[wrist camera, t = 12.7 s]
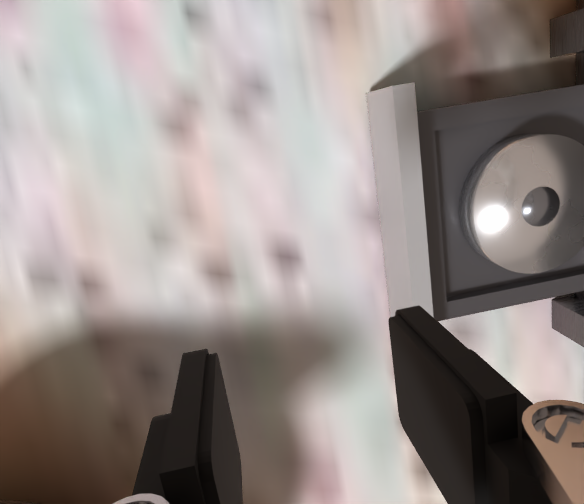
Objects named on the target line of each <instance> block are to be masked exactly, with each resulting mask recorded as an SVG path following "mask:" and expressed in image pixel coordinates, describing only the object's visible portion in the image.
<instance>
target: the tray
mask: <svg viewBox="0 0 584 504" xmlns="http://www.w3.org/2000/svg"><path fill="white" fill-rule="evenodd" d="M366 99H367V108H368V117H369V127H370V136H371V145H372V154H373V164H374V173H375V182H376V191H377V200H378V210H379V219H380V228H381V237H382V247H383V256H384V265H385V274H386V284H387V293H388V302H389V311H390V317H394V316H395V312H396V310H398V309H403V308H408V307H413V306H418V305H419V306H421V307H422V308H423V309H424V310H425V311H427V312H428V313H429V314H430V315H431V316H432V317H433V318H434V319H435V320H437V321H441V320H446V319H451V318H455V317H460V316H465V315H470V314H475V313H479V312H484V311H489V310H494V309H499V308H503V307H508V306H513V305H518V304H523V303H527V302H532V301H537V300H542V299H547V298H551V297H556V296H561V295H566V294H571V293H575V292H580V291H584V247H583V248H582V249H581V250H580V251H579V252H578V253H577V254H576V255H575V256H573V257H572V258H571V259H570V260H568V261H567V262H565V263H564V264H562V265H560V266H558V267H556V268H553V269H551V270H548V271H544V272H540V273H533V274H524V273H517V272H514V271H510V270H508V269H505V268H503V267H501V266H499V265H497V264H495V263H493V262H491V261H489V260H487V259H485V258H484V257H482V256H481V255H479V254H478V253H477V252H476V251H475V250H474V249H473V248H472V247H471V246H470V244H469V243H468V241H467V240H466V238H465V236H464V234H463V231H462V228H461V225H460V219H459V199H460V194H461V190H462V186H463V184H464V181H465V179H466V177H467V175H468V173H469V171H470V170H471V168H472V167H473V165H474V164H475V162H476V161H477V160H478V159H479V158H480V157H481V156H482V155H483V154H484V153H485V152H486V151H487V150H488V149H490V148H491V147H492V146H494V145H495V144H497V143H499V142H501V141H502V140H505V139H507V138H510V137H513V136H517V135H524V134H553V135H561V136H566V137H569V138H571V139H574V140H576V141H577V142H579V143H581V144H582V145H583V146H584V84H580V85H574V86H568V87H562V88H556V89H550V90H544V91H538V92H532V93H526V94H520V95H514V96H508V97H501V98H495V99H489V100H483V101H477V102H471V103H465V104H459V105H453V106H447V107H441V108H435V109H429V110H423V111H417V106H416V93H415V82H413V83H406V84H400V85H394V86H390V87H386V88H382V89H379V90H375V91H372V92H368V93H366Z"/></svg>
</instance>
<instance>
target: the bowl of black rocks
mask: <svg viewBox="0 0 584 504" xmlns="http://www.w3.org/2000/svg"><path fill="white" fill-rule="evenodd" d="M0 504H37V503H32V502H23V501H6V500H0Z"/></svg>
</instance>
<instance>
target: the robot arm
mask: <svg viewBox="0 0 584 504" xmlns="http://www.w3.org/2000/svg"><path fill="white" fill-rule="evenodd" d="M389 330H390V339H391V348H392V358H393V367H394V376H395V385H396V394H397V403H398V412H399V417H400V421H401V424H402V427H403V429H404V431H405V432H406V434H407V436H408V437H409V439H410V441H411V442H412V444H413V446H414V447H415V449H416V451H417V452H418V454H419V456H420V458H421V459H422V461H423V463H424V464H425V466H426V468H427V469H428V471H429V473H430V474H431V476H432V478H433V479H434V481H435V483H436V484H437V486H438V488H439V490H440V491H441V493H442V495H443V496H444V498H445V500H446V501H447V503H448V504H584V404H582V403H578V402H573V401H566V400H547V401H542V402H537V403H535V404H533V403H532V402H530V401H529V400H528V399H527V398H526V397H525V396H524V395H523V394H521V393H520V392H519V391H518V390H517V389H516V388H515V387H514V386H512V385H511V384H510V383H509V382H508V381H507V380H506V379H505V378H503V377H502V376H501V375H500V374H499V373H498V372H497V371H496V370H494V369H493V368H492V367H491V366H490V365H489V364H488V363H487V362H485V361H484V360H483V359H482V358H481V357H480V356H479V355H478V354H476V353H475V352H474V351H472V350H471V349H468V348H467V347H465V346H464V345H463V344H462V343H461V342H460V341H459V340H458V339H457V338H455V337H454V336H453V335H452V334H451V333H450V332H449V331H448V330H447V329H445V328H444V327H443V326H442V325H441V324H440V323H439V322H438V321H437V320H435V319H434V318H433V317H432V316H431V315H430V314H429V313H428V312H427V311H425V310H424V309H423V308H422V307H421V306H419V305H418V306H413V307H408V308H403V309H398V310H396V312H395V316H394V317H390V318H389ZM113 504H243V499H242V475H241V460H240V453H239V448H238V444H237V439H236V435H235V430H234V426H233V421H232V417H231V412H230V408H229V403H228V399H227V394H226V390H225V385H224V381H223V376H222V372H221V367H220V363H219V358H218V355H217V353H214V354H209V353H208V350H207V349H203V350H198V351H193V352H188V353H183V355H182V360H181V365H180V370H179V375H178V380H177V385H176V390H175V395H174V400H173V406H172V411H171V413H170V414H165V415H160V416H156V417H154V418H153V419H152V422H151V425H150V429H149V433H148V436H147V440H146V444H145V448H144V452H143V456H142V459H141V463H140V467H139V471H138V475H137V479H136V482H135V486H134V490H133V494H132V496H129V497H125V498H123V499H121V500H119V501H117V502H115V503H113Z"/></svg>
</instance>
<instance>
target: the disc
mask: <svg viewBox="0 0 584 504" xmlns="http://www.w3.org/2000/svg"><path fill="white" fill-rule="evenodd" d="M459 219H460V225H461V228H462V231H463V234H464V236H465V238H466V240H467V241H468V243H469V244H470V246H471V247H472V248H473V249H474V250H475V251H476V252H477V253H478V254H479V255H481V256H482V257H484V258H485V259H487V260H489V261H491V262H493V263H495V264H497V265H499V266H501V267H503V268H505V269H508V270H510V271H514V272H517V273H524V274H533V273H540V272H544V271H548V270H551V269H553V268H556V267H558V266H560V265H562V264H564V263H565V262H567V261H568V260H570V259H571V258H572V257H573V256H575V255H576V254H577V253H578V252H579V251H580V250H581V249H582V248H583V247H584V146H583V145H582V144H581V143H579V142H577V141H576V140H574V139H571V138H569V137H566V136H561V135H553V134H524V135H517V136H513V137H510V138H507V139H505V140H502V141H501V142H499V143H497V144H495V145H494V146H492V147H491V148H490V149H488V150H487V151H486V152H485V153H484V154H483V155H482V156H481V157H480V158H479V159H478V160H477V161H476V162H475V164H474V165H473V167H472V168H471V170H470V171H469V173H468V175H467V177H466V179H465V181H464V184H463V186H462V190H461V194H460V199H459Z"/></svg>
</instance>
